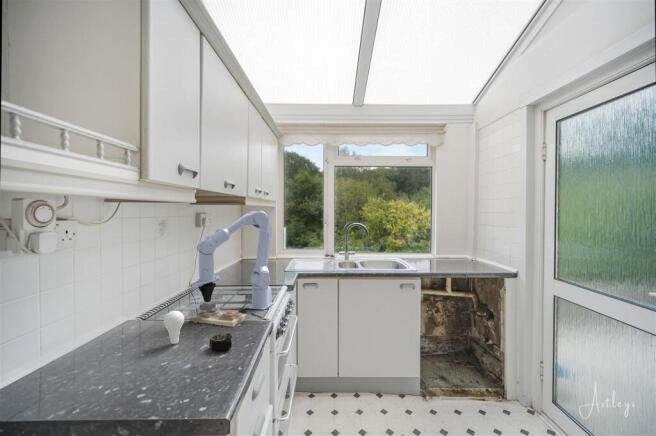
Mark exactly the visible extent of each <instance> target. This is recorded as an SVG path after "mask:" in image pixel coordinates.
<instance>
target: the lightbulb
mask: <svg viewBox="0 0 656 436" xmlns="http://www.w3.org/2000/svg"><path fill="white" fill-rule="evenodd" d="M184 322H185V316H184V314H183V313H182V312H181V311H179V310H171V311H170V312H168V313H167V314H165V317H164V318H163V326H164V328H166V330H167V332H168V337H169V340H170V343H171V344H173V345H176V344H177V343H178V342H180V341H179V340H180V334H181V329H182V326H183V325H184Z"/></svg>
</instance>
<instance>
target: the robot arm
mask: <svg viewBox="0 0 656 436" xmlns="http://www.w3.org/2000/svg"><path fill="white" fill-rule="evenodd" d="M249 225H250V226H251V225H252V226H253V227H255V228H256V230H258V232H259V236H258V242H257V243H258V244H257V252H256V258H255V265H254V267H253V269H252V272H251V274H250V276H249V282H250V284H251V285H252V286H251V297H252V299H251V300H252V301H251V302H252V303H251V305H250V306H248V309H252V310H261V311H262V310H266V309H268V308H269V307H271V306H272V305H274V302H272V301H273V296H272V295H273V293H272V292H273V290H272V288H271V286H270V284H271V278H270V271H269V270H270V269H269V268H268V264H269V255H270V249H271V241H272V240H271V239H272V233H273V227H272V225H271V222H270V216H269V215H268V214H267V213H266V212H265V211H263V210H258V211H257V210H251V211H249V212H248V213H246V214H244V215H243V216H241V217H240V218H238V219H237V220H236V221H234V222H233V223H231V224H229V226H228V227H226V228H223V227H221V228H216V229H215V231H214V232H213V233H212V234H210V235H207V236H205V239H204V238H203V239H201V240H199V241H198V243H197V246H196V249H197V251H198V277H199V278H198V279H197V280H196V281H195V282H192V283H191V288H192V289H198V290H199V291H200V293H201V295H202V298H203V303H205V302H212V301H211V300H212V297H213V296H212V295H213V293H214V289H215V288H216V286H217V283H216V282H218V281H221V276H220V275H215V257H214V254H215V251H216V249H217V248H218V247H220V246H221V245H223V244H225V243H226V242H228V241H229V240H230V238H231V235H232V234H234V233H235V232H237V231H239V230H241V229H242V228H243V227H245V226H249Z"/></svg>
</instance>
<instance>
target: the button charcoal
mask: <svg viewBox="0 0 656 436" xmlns="http://www.w3.org/2000/svg"><path fill="white" fill-rule="evenodd" d="M216 305H217V304H216V302H214V301H210V302H203V303H201V304H199V309H198V310H200V311H204V310H206V311H209V310H214V309H215V308H216Z"/></svg>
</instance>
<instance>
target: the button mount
mask: <svg viewBox="0 0 656 436" xmlns="http://www.w3.org/2000/svg"><path fill="white" fill-rule="evenodd" d="M225 312H226V311H220V310H218V309H217V310H215V309H211V310H209V311H206V310H201V311H200V312H198V313H196V314H195V315H194V316H191V317H189V322H190V321H193V322H192V323H197V322H199V323H200V324H205V323H206V325H213V324H215V326H222V325H223V327H232V328H234V327H235V326H237V325H238V324H241V322H243V321H244V320H246V319H247V318H248V313H242V312H238V315H236V316H234V317H232V318H231V317H222V314H223V313H225ZM199 323H198V324H199Z"/></svg>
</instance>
